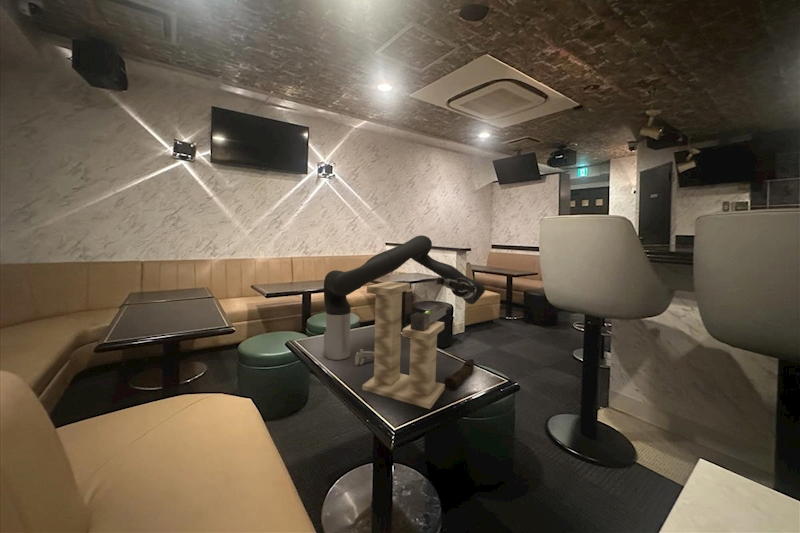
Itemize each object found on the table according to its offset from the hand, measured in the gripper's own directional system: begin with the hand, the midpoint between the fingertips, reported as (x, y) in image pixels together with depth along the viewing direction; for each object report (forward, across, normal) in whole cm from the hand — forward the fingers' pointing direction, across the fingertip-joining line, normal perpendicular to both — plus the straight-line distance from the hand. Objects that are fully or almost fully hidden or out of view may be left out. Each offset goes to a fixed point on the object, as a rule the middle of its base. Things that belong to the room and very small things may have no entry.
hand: (450, 283), depth 109 cm
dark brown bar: (-2, +11, +31) cm, 33 cm away
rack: (+15, -1, +36) cm, 39 cm away
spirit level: (+14, +2, +14) cm, 20 cm away
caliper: (0, -20, +35) cm, 40 cm away
